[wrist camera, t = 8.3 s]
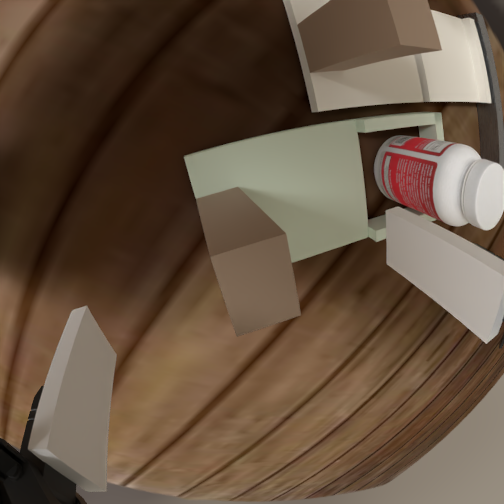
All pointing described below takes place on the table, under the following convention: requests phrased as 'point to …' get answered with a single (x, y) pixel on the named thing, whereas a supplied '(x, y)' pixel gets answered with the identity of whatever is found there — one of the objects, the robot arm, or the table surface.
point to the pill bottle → (441, 180)
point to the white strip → (454, 64)
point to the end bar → (489, 114)
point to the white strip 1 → (361, 50)
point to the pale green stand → (286, 208)
